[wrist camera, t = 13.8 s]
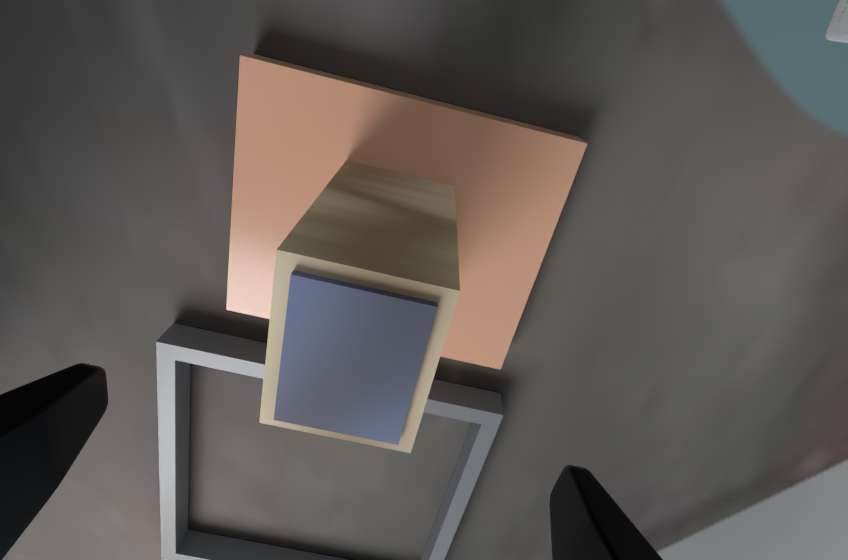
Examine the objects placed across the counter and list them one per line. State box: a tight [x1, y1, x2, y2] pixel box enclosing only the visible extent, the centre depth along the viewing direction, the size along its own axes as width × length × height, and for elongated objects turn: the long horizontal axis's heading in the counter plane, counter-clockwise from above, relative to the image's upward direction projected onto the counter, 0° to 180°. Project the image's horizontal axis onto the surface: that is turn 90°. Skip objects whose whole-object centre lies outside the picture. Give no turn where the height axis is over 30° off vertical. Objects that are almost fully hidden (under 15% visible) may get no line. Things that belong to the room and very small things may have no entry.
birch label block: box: [259, 160, 460, 453], centre depth 15 cm, size 4×5×8 cm
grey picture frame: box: [156, 323, 503, 560], centre depth 26 cm, size 16×16×2 cm
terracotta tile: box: [226, 54, 587, 370], centre depth 19 cm, size 12×10×1 cm
